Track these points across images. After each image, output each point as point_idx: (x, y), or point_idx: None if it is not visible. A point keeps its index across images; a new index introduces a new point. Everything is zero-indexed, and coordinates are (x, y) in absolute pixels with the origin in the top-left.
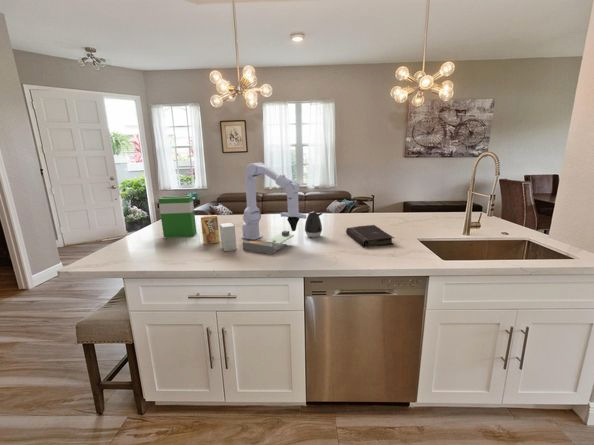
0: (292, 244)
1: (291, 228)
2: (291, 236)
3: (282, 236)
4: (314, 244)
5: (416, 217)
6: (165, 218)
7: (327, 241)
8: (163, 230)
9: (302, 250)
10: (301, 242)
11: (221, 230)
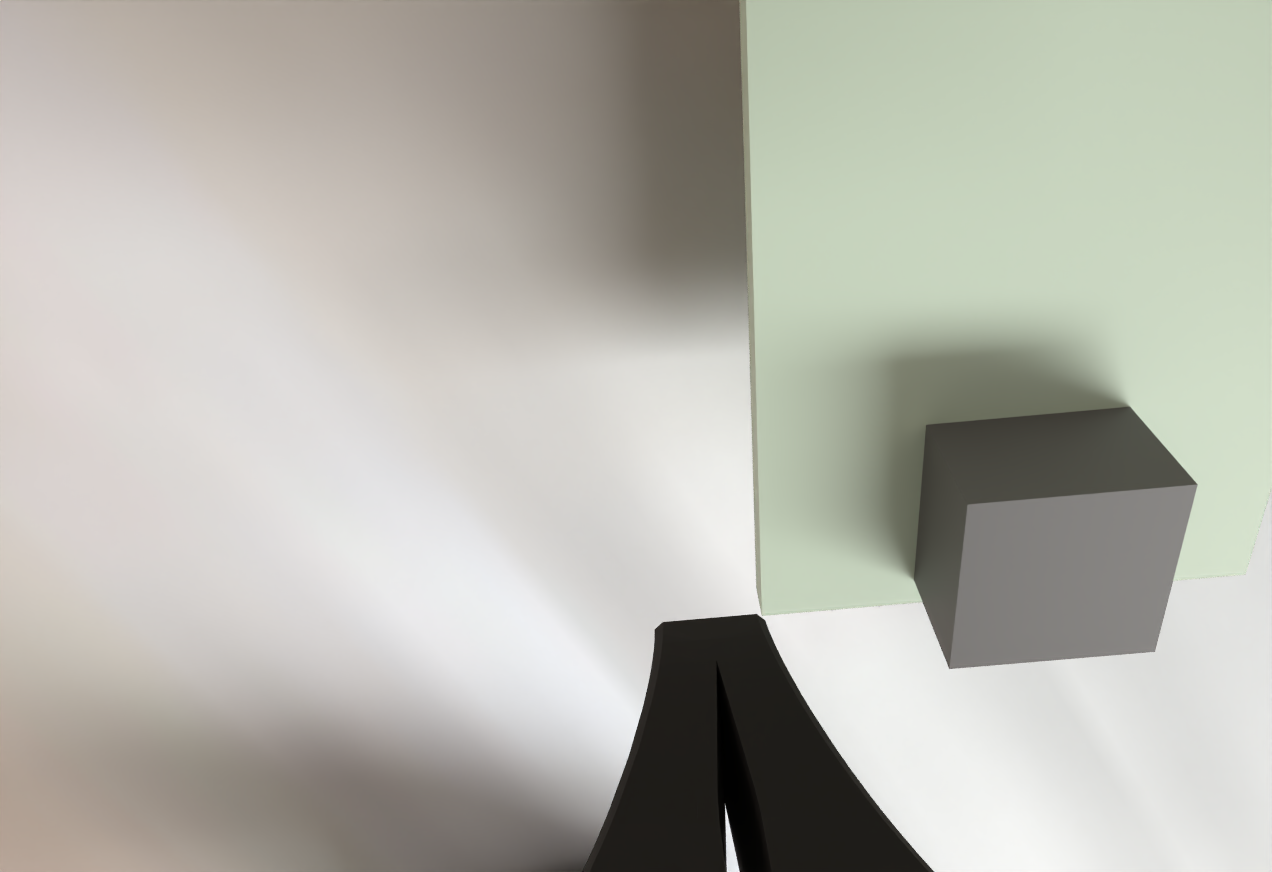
0: (733, 380)
1: (777, 678)
2: (757, 473)
3: (1064, 322)
4: (253, 603)
5: None
6: None
7: (163, 830)
8: None
9: (177, 99)
10: (607, 584)
11: None
